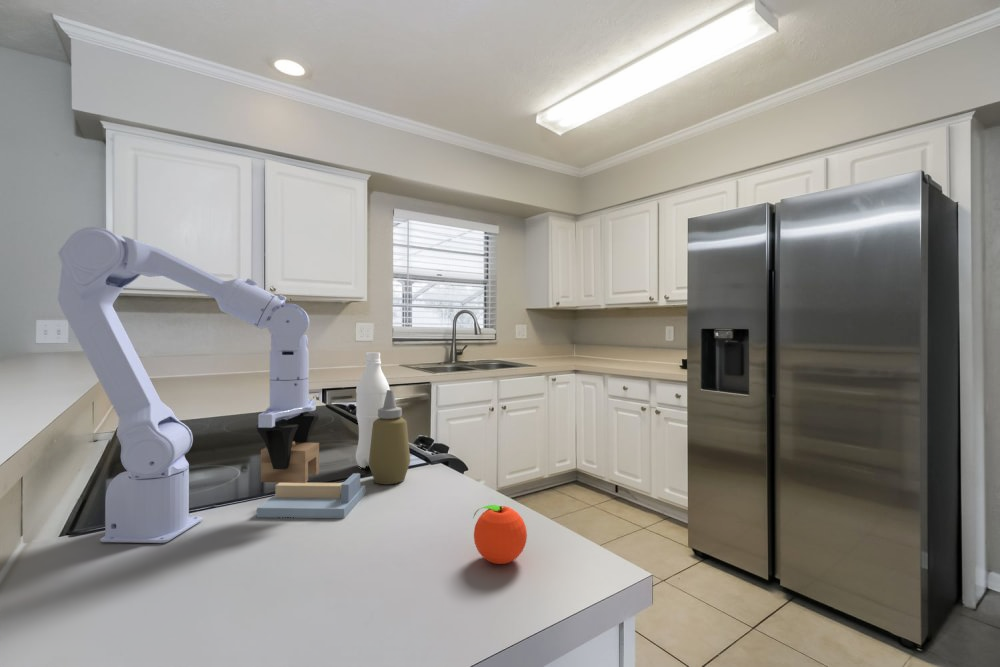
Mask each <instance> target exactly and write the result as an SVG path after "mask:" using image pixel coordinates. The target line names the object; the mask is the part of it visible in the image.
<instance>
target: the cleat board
mask: <svg viewBox="0 0 1000 667" xmlns="http://www.w3.org/2000/svg"><path fill="white" fill-rule="evenodd" d="M274 490H275V492H274V493H275V494H274V495H273V496H272V497H270V498H268V499H267V500H266V501H265V502H263V503H262V504H260V505H259V506H257V507H256V518H278V517H280V518H282V517H283V518H285V517H286V518H287V517H289V519H290V517H291V518H292V519H293V517H294V519H295V518H297V519H304V518H305V519H345V518H346V517H348V515H349V514H350V512H351V511H352V510H353V509H354V508H355V507H356V505H357V504H358V503H359V502H360V501H361V500H362V498H363V497H364V496H365V495H366V494H365V493H366V485H361V473H359V472H356V473H355V472H353V473H352V474H351V475H350V476H349V477H348V478H347V479H345V481H343V482H306V483H279V482H277V484H275V488H274ZM364 494H365V495H364ZM363 495H364V496H363ZM360 499H361V500H360ZM359 500H360V501H359ZM358 501H359V502H358ZM353 507H354V508H353ZM280 518H279V519H280ZM286 518H285V519H286Z"/></svg>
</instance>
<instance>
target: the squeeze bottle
mask: <svg viewBox="0 0 1000 667" xmlns="http://www.w3.org/2000/svg"><path fill="white" fill-rule="evenodd" d="M378 417H379V418H378V419H376V420H375V421H374V422H373V427H372V436H371V446H370V455H369V465H368V467H369V466H370V467H369V469H370V471H371V475H372V478H373V481H374V482H375V483H376V484H378V483H379V485H393V484H394V483H395V484H398V482H399V483H401V481H402V482H403V481H405V479H406V476H407V473H408V470H409V466H410V464H411V454H410V453H411V452H410V444H409V432H408V424H407V420H406V419H405V418H403V409H402V407H401V406H400V407H399V406H398V405H397V403H396V398H395V393H394V390H393V389H390V390H387V393H386V397H385V402H384V406H383V408H379V409H378Z"/></svg>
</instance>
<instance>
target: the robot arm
mask: <svg viewBox="0 0 1000 667" xmlns="http://www.w3.org/2000/svg"><path fill="white" fill-rule="evenodd" d="M57 255H58V257H59V261H60V263H61V269H60V270H61V271H60V279H59V288H58V297H57V301H58V303H59V304H58V305H59V307H60V309H61V311H62V313H63V314H64V316H65V318H66V320H67V322H68V324H69V325H70V328H71V330H72V332H73V334H74V335H75V337H76V339H77V341H78V343H79V345H80V346H81V349H82V351H83V352H84V354H85V356H86V358H87V360H88V362H89V364H90V365H91V367H92V369H93V371H94V373H95V375H96V377H97V379H98V381H99V383H100V384H101V386H102V388H103V390H104V392H105V394H106V396H107V398H108V400H109V401H110V404H111V405H112V407H113V409H114V411H115V413H116V415H117V417H118V424H117V429H116V437H117V439H118V441H119V443H120V446H121V447H120V448H121V450H120V461H121V464H122V466H123V467H124V469H125V470H126V471H123V472H120V473H118V474H117V475H116V476H115V477H113V479H112V480H111V481H110V483H109V485H108V487H107V489H106V492H105V506H104V507H105V512H104V513H105V518H104V519H105V523H104V524H105V526H104V527H105V529H104V530H105V532H104V533H105V535H104V536H103V537H101V538H100V541H99V542H101V543H139V544H141V543H144V544H145V543H146V544H147V543H149V544H150V543H152V544H153V543H154V544H164V543H168V542H169V541H171V540H174V539H175V538H176V537H178V536H179V535H181V534H183V533H184V532H186V531H187V530H189V529H191V528H192V527H194V526H196V525H197V524H199V523H200V522H201V521H203V517H202V516H189V515H190V511H189V510H190V509H189V507H190V504H189V503H190V501H189V499H190V498H189V497H190V496H189V494H190V485H189V484H190V468H189V466H190V464H189V462H188V460H187V459H186V457H185V455H186V454H187V453H189V451H190V450H191V448H192V446H193V442H194V436H193V432H192V430H191V429H190V427H189V426H188V425H186V424H185V423H183V422H182V421H180V420H179V418H177V417H176V415H175V413H174V411H173V409H171V408H170V407H169V406H168V405H166V404H165V403H164V402H163V401H162V400H161V398H160V396H159V394H158V393H157V390H156V388H155V387H154V385H153V382H152V381H151V378H150V377H149V375H148V372H147V370H146V369H145V367H144V365H143V363H142V361H141V358H140V357H139V355H138V353H137V352H136V350H135V347H134V345H133V343H132V341H131V339H130V337H129V336H128V334H127V332H126V330H125V328H124V326H123V324H122V322H121V320H120V318H119V316H118V314H117V312H116V311H115V309H114V306H113V305H114V303H115V302H116V299H118V297H119V295H120V294H121V293H122V291H123V289H124V288H126V287H127V286H129V285H130V284H132V283H133V282H134V281H135V280H137V279H138V278H140V277H141V276H144V277H147V278H152V277H153V278H155V277H164V278H167V279H169V280H172V281H174V282H176V283H179V284H181V285H183V286H185V287H188V288H190V289H192V290H195V291H197V292H200V293H201V294H204V295H206V296H209V297H211V298H213V299H215V301H216V303H217V305H218V308H219V310H220V311H221V312H222V313H225V314H227V315H229V316H232V317H234V318H235V319H238V320H241V321H242V322H245V323H247V324H249V325H251V326H254V327H256V328H259V329H260V330H263V329H266V328H267V330H268V332H269V333H270V349H269V406H268V407H267V408H266V409H265V410H264V411H263V412H261V413H259V414H258V419H257V420H258V422H257V425H256V432H257V433H258V434H259V436H260V437H261V438H262V440H263V442H264V444H265V446H266V447H267V449H268V453H269V456H270V459H271V463H272V466H273V469H287V468H288V466H289V462H290V456H291V447H292V442H293V441H295V442H300V443H310V438H311V435H312V432H313V429H314V427H315V425H316V423H317V422H318V420H319V414H318V413H311V412H314V411H315V410H317V406H316V399H315V398H314V399H312V398H311V399H310V393H309V392H310V391H309V390H310V386H309V384H310V382H309V381H310V380H309V379H310V376H309V375H310V362H309V361H310V359H309V358H310V356H309V355H310V353H309V352H310V351H309V349H308V345H309V337H308V335H307V334H306V333H307V331H308V330H309V328H310V317H309V315H308V313H307V312H306V311H305V309H303V308H302V307H301V306H299V305H298V304H295V303H291V302H290V303H286V301H287V297H286V296H285V295H282V294H279V296H278V295H275V294H273V293H271V292H269V291H267V290H265V289H264V288H261V287H259V286H257V285H258V282H257V281H255V280H254V279H251V278H250V277H249V278H247V279H246V280H245V279H243V278H240V277H239V278H238V277H237V278H234V279H229V280H224V279H221V278H220V277H218V276H216V275H214V274H212V273H210V272H208V271H206V270H204V269H202V268H200V267H198V266H196V265H194V264H192V263H190V262H189V261H186V260H184V259H182V258H181V257H178V256H176V255H174V254H173V253H170V252H169V251H166V250H163V249H162V248H159V247H156V246H155V245H151V244H148V243H145V242H142V241H139V240H137V239H134V238H130V237H127V236H124V235H121V236H120V235H117V234H116V233H114V232H113V231H111V230H108V229H106V228H103V227H99V226H89V227H82V228H80V229H78V230H76V231H75V232H73V233H72V234H71V235H70V236H69V238H68V239H67V240H66V241H65V242H64V244H63V245H62V247H60V248H59V250H58V252H57ZM266 447H265V448H266Z"/></svg>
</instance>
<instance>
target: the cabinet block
mask: <svg viewBox="0 0 1000 667" xmlns="http://www.w3.org/2000/svg"><path fill="white" fill-rule="evenodd" d="M319 472H320V442H309V443H300V442H295V441H293V442H292V447H291V456H290V462H289V466H288V468H287V469H273V466H272V463H271V459H270V456H269V453H268V449H267V447H264V448H262V449H261V450H260V482H261V483H308V481H309V476H310V475H311V476H317V475H319V474H320V473H319Z"/></svg>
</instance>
